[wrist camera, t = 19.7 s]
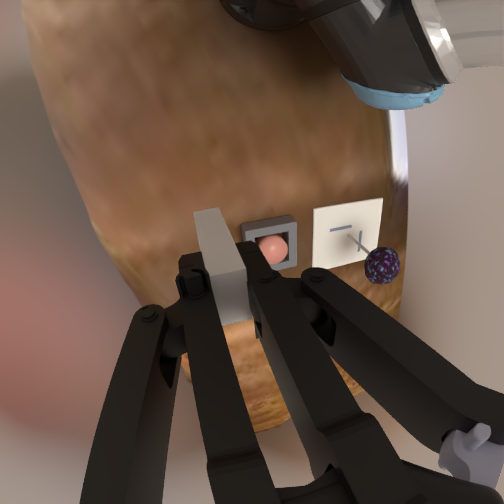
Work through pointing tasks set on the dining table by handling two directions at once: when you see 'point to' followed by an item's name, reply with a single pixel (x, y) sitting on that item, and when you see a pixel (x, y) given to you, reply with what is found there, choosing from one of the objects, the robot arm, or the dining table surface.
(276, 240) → the button
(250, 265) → the robot arm
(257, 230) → the button housing
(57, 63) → the dining table surface
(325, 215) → the paper pad
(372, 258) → the lollipop
